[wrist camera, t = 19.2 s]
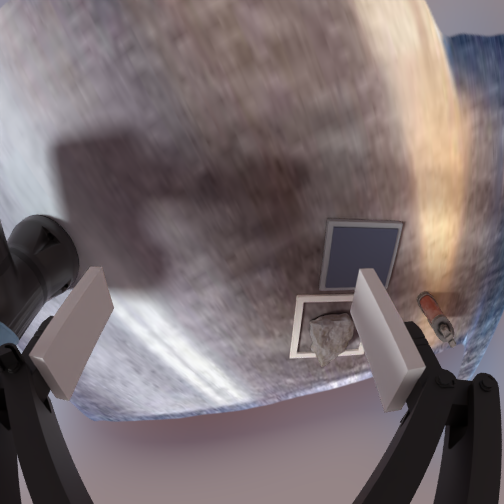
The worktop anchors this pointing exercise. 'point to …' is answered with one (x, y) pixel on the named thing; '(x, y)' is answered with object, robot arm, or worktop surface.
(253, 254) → the worktop surface
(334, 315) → the stone
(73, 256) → the robot arm
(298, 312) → the white flat square frame
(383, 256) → the ink pad
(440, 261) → the worktop surface
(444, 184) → the worktop surface
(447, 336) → the lighter
